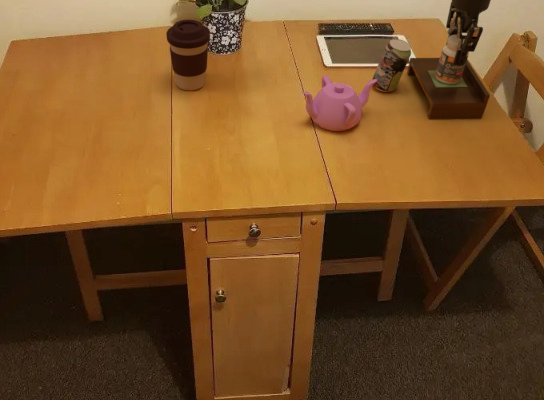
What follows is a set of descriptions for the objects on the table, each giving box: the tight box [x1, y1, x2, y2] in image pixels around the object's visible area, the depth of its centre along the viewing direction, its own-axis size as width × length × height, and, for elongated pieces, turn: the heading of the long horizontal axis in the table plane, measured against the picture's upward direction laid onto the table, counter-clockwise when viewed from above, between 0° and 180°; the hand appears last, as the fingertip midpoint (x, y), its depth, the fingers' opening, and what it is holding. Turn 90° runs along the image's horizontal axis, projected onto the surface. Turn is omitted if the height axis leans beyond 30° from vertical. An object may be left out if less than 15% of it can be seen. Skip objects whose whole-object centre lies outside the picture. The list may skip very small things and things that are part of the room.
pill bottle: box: [435, 35, 470, 84], centre depth 132 cm, size 6×6×10 cm
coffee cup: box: [165, 19, 211, 91], centre depth 137 cm, size 10×10×15 cm
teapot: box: [301, 74, 377, 132], centre depth 128 cm, size 12×14×9 cm
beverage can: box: [371, 38, 412, 93], centre depth 136 cm, size 6×7×12 cm
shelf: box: [406, 57, 491, 120], centre depth 136 cm, size 20×12×6 cm, turn 1°
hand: (454, 57), depth 131 cm, fingers closed on pill bottle, 5 cm apart
